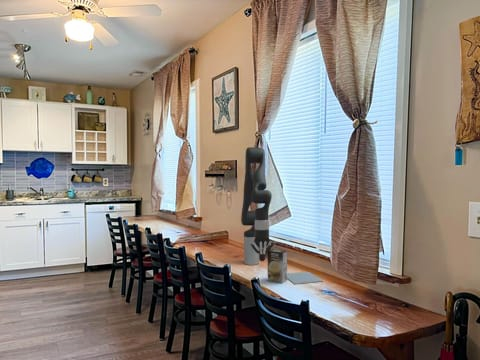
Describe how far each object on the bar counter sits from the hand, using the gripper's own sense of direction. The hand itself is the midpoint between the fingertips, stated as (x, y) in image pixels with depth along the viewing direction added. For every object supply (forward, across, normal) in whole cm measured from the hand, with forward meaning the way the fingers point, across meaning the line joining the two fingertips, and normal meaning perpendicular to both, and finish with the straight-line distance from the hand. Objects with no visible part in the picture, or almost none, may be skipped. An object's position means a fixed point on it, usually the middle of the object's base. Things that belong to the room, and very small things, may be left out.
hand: (262, 261), depth 191 cm
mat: (+11, -22, 0) cm, 25 cm away
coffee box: (+11, -8, 0) cm, 14 cm away
